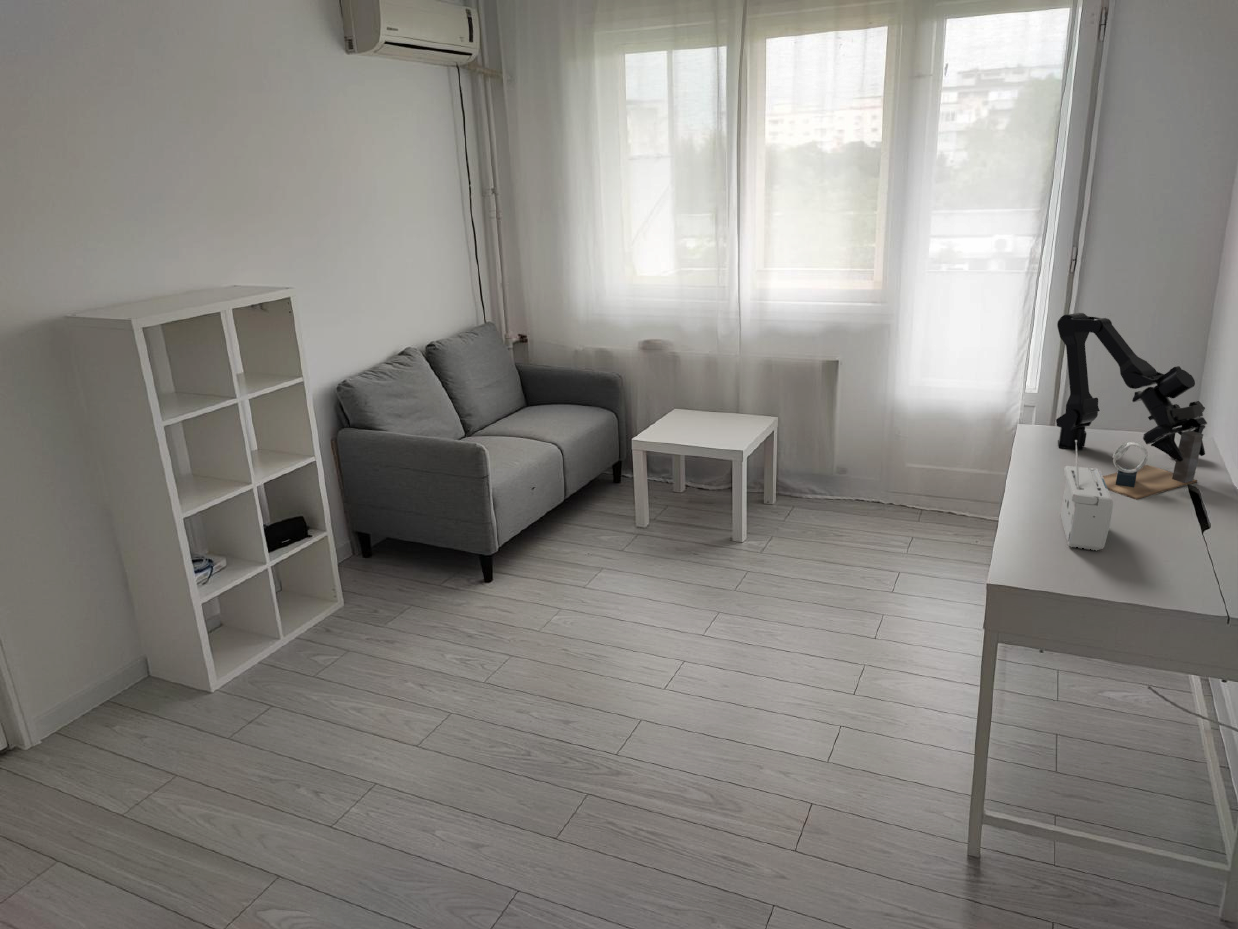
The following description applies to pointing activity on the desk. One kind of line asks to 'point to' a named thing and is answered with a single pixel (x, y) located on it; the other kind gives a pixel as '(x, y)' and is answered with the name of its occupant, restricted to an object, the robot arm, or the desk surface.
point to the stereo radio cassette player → (1085, 507)
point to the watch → (1126, 475)
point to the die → (1177, 439)
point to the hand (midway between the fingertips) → (1192, 458)
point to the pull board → (1163, 471)
